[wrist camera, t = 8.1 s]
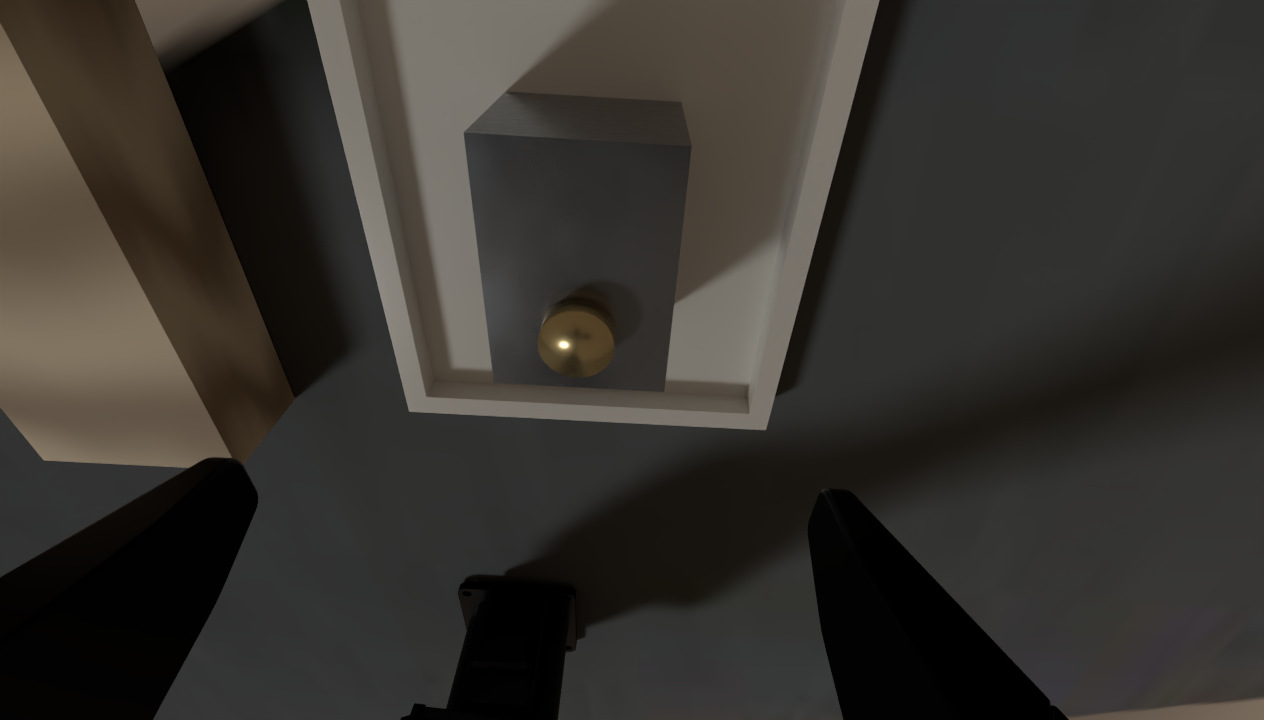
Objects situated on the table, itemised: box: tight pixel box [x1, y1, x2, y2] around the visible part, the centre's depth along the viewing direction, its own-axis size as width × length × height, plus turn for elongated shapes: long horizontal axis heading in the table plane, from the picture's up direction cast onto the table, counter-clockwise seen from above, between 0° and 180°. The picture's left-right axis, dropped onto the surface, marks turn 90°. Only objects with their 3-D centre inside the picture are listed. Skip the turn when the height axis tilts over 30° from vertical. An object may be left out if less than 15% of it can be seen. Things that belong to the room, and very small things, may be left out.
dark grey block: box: [463, 91, 692, 392], centre depth 16 cm, size 7×5×5 cm
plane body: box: [0, 0, 295, 468], centre depth 16 cm, size 18×7×4 cm, turn 177°
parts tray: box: [307, 0, 879, 430], centre depth 18 cm, size 16×14×2 cm
